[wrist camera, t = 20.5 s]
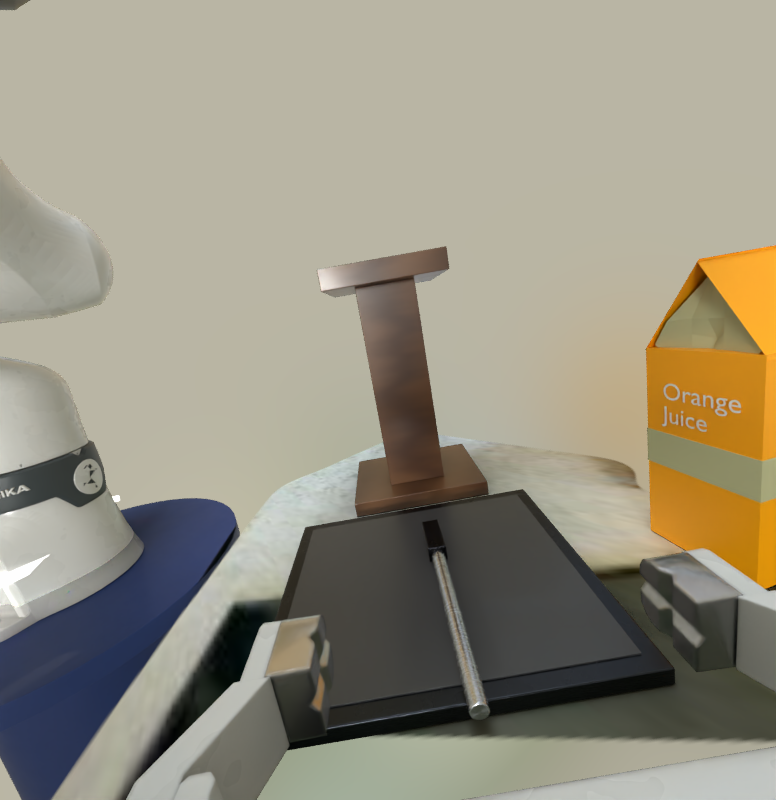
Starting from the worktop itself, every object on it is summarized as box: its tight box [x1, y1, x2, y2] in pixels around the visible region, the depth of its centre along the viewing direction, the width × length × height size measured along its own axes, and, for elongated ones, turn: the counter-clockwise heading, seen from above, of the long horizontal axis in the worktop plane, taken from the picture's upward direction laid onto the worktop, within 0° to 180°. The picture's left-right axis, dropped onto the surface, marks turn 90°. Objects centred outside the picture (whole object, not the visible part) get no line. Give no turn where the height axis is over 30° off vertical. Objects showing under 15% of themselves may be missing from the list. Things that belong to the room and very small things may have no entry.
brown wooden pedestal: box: [317, 247, 488, 517], centre depth 44 cm, size 14×12×25 cm
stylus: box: [422, 519, 490, 720], centre depth 26 cm, size 1×16×1 cm, turn 3°
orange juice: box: [646, 246, 776, 589], centre depth 26 cm, size 8×9×20 cm
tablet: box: [274, 489, 675, 750], centre depth 29 cm, size 22×20×1 cm
